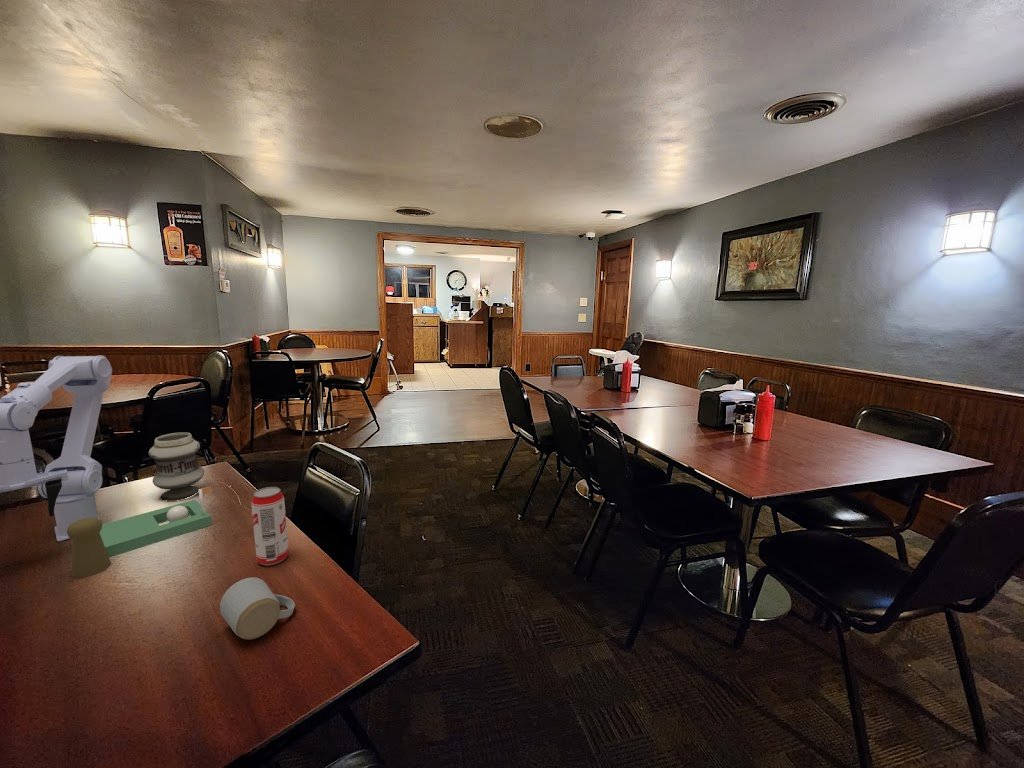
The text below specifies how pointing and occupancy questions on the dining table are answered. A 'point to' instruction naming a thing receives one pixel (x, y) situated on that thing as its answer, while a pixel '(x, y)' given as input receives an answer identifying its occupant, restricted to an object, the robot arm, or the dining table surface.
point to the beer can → (269, 526)
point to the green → (150, 528)
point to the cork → (87, 548)
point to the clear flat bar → (201, 493)
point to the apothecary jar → (176, 465)
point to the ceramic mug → (253, 608)
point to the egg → (177, 513)
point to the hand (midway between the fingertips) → (25, 521)
